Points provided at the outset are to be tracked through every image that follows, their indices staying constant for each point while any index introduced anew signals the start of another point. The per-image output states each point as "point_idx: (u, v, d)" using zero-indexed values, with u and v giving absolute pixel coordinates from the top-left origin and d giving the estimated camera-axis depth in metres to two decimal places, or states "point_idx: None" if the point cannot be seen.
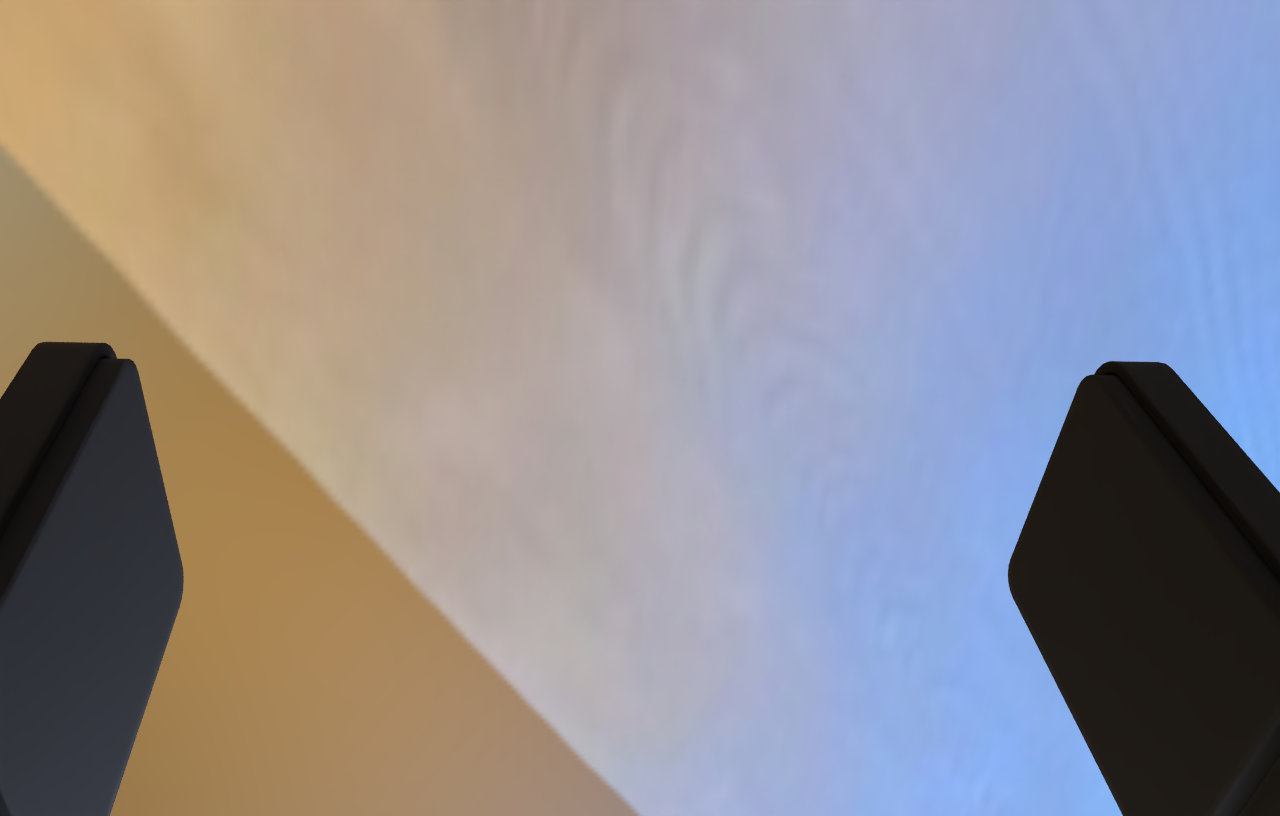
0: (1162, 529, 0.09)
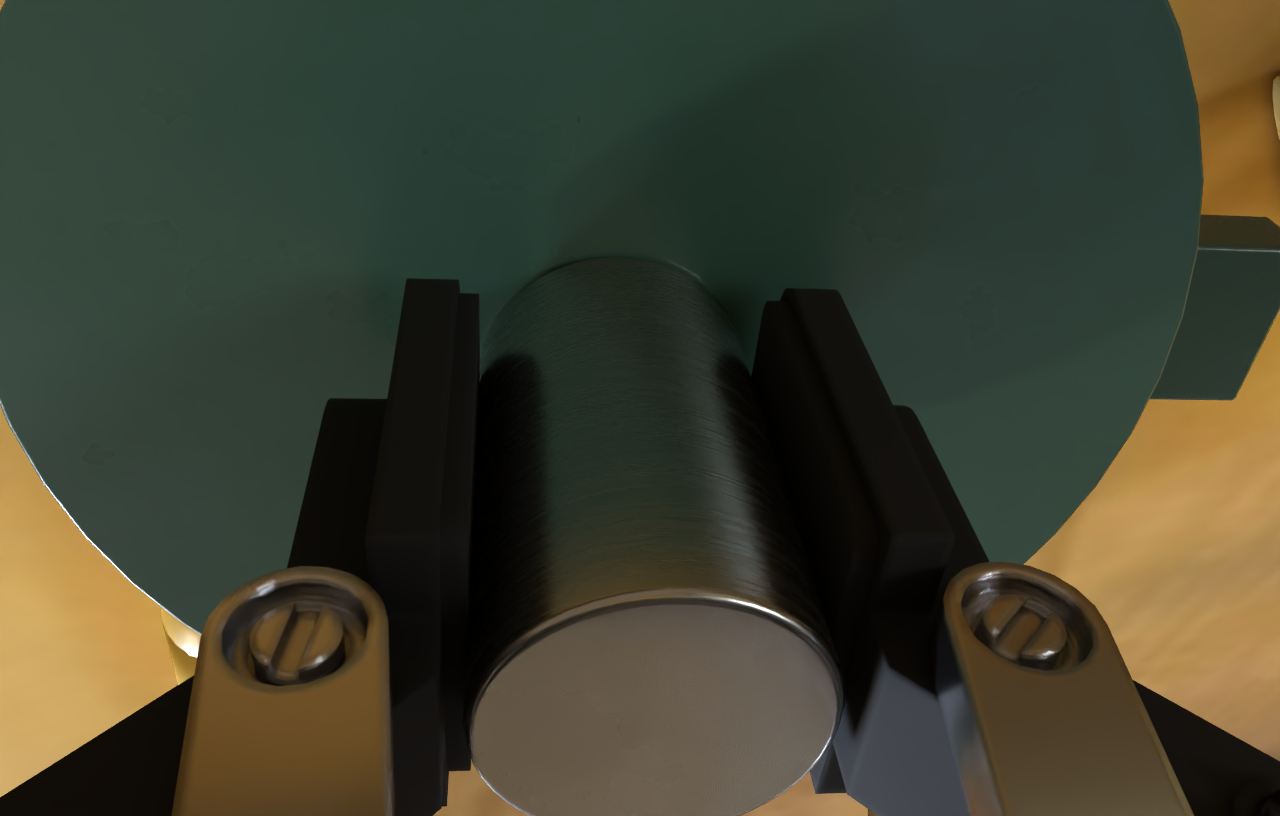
0: (796, 436, 0.10)
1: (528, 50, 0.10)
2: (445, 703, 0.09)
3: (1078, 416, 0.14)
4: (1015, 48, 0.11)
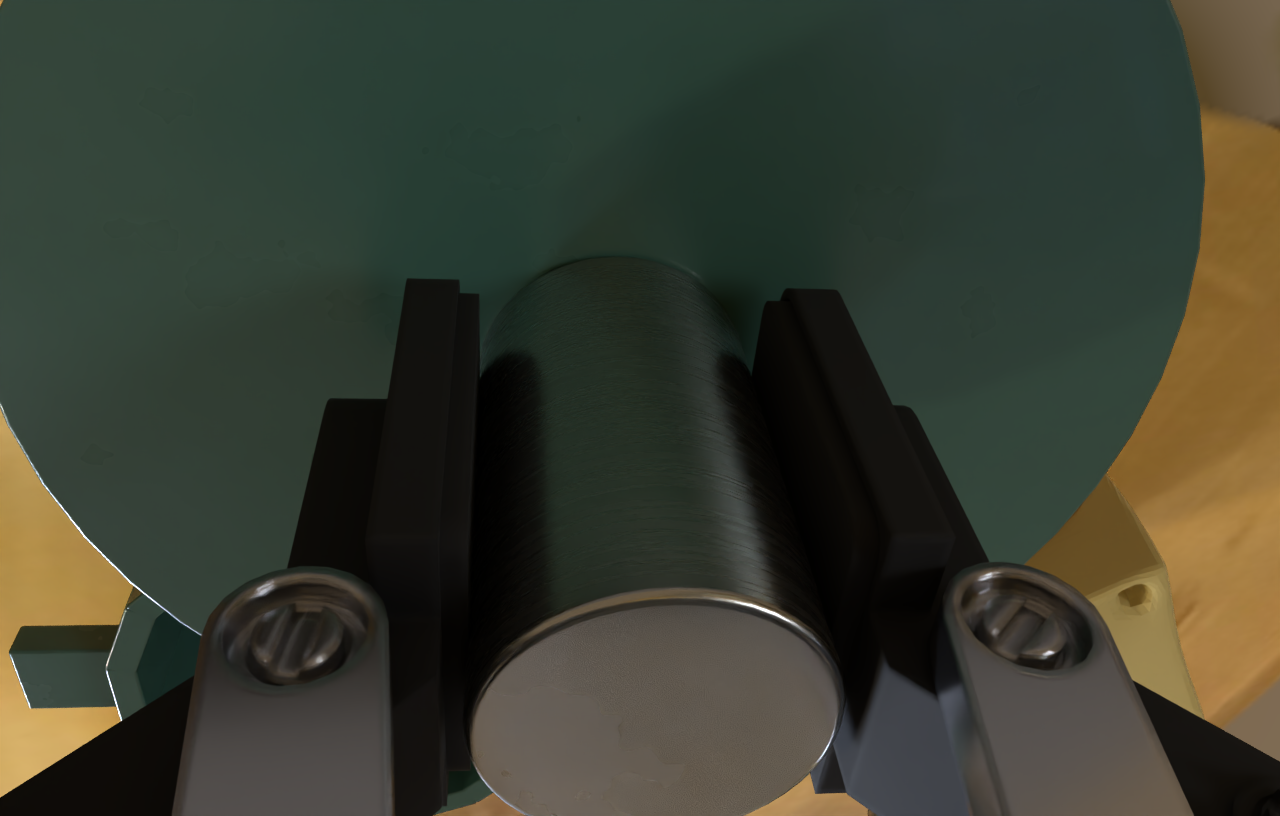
0: (796, 436, 0.10)
1: (528, 49, 0.10)
2: (445, 703, 0.09)
3: (1079, 416, 0.13)
4: (1016, 47, 0.11)
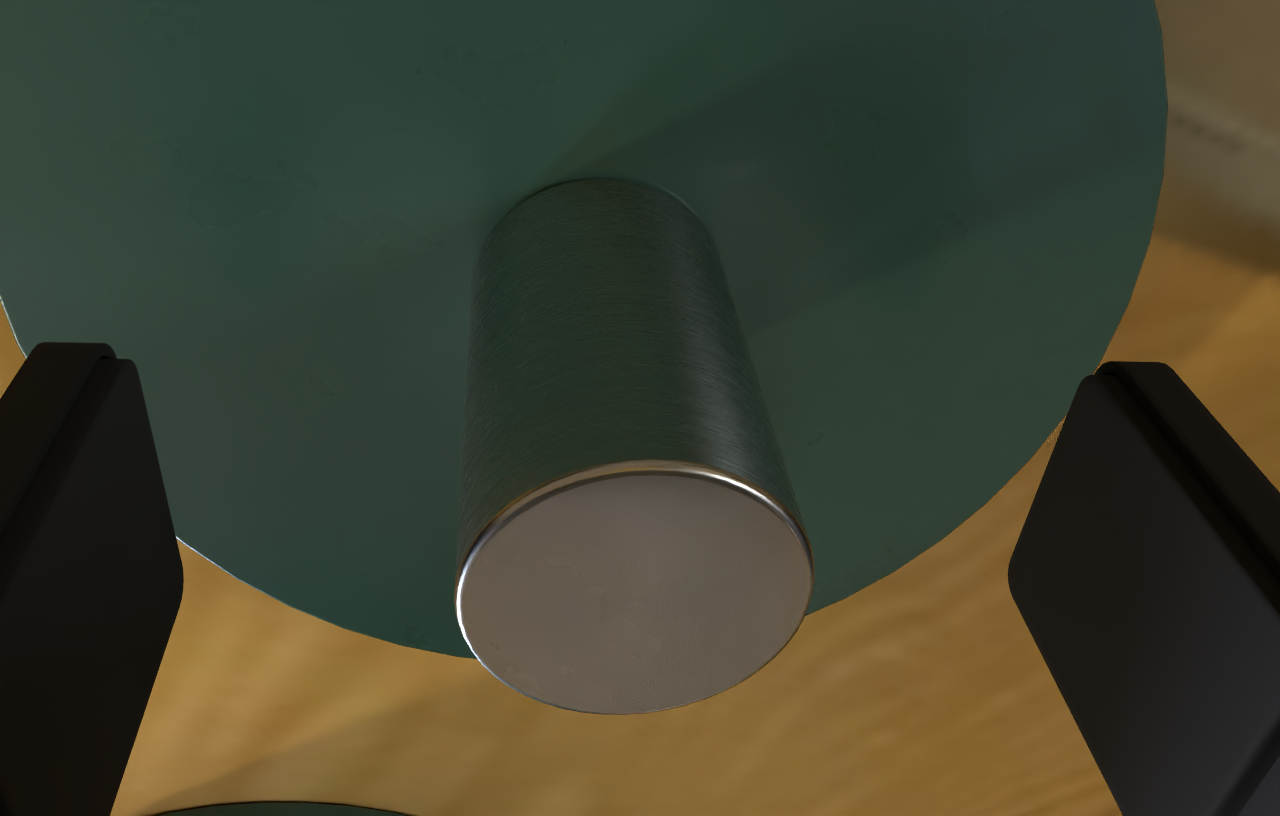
0: (1162, 529, 0.09)
1: None
2: None
3: (1049, 342, 0.14)
4: None
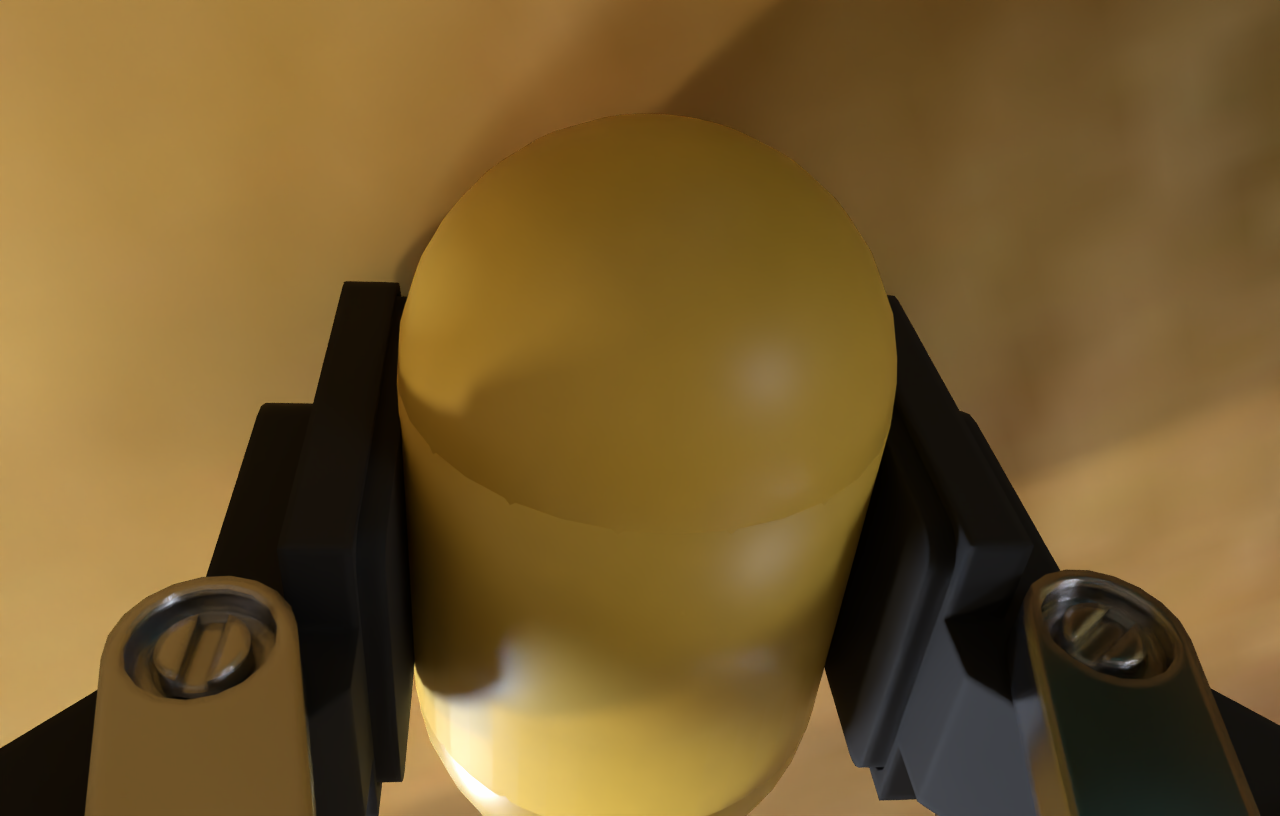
0: None
1: None
2: (371, 714, 0.09)
3: None
4: None
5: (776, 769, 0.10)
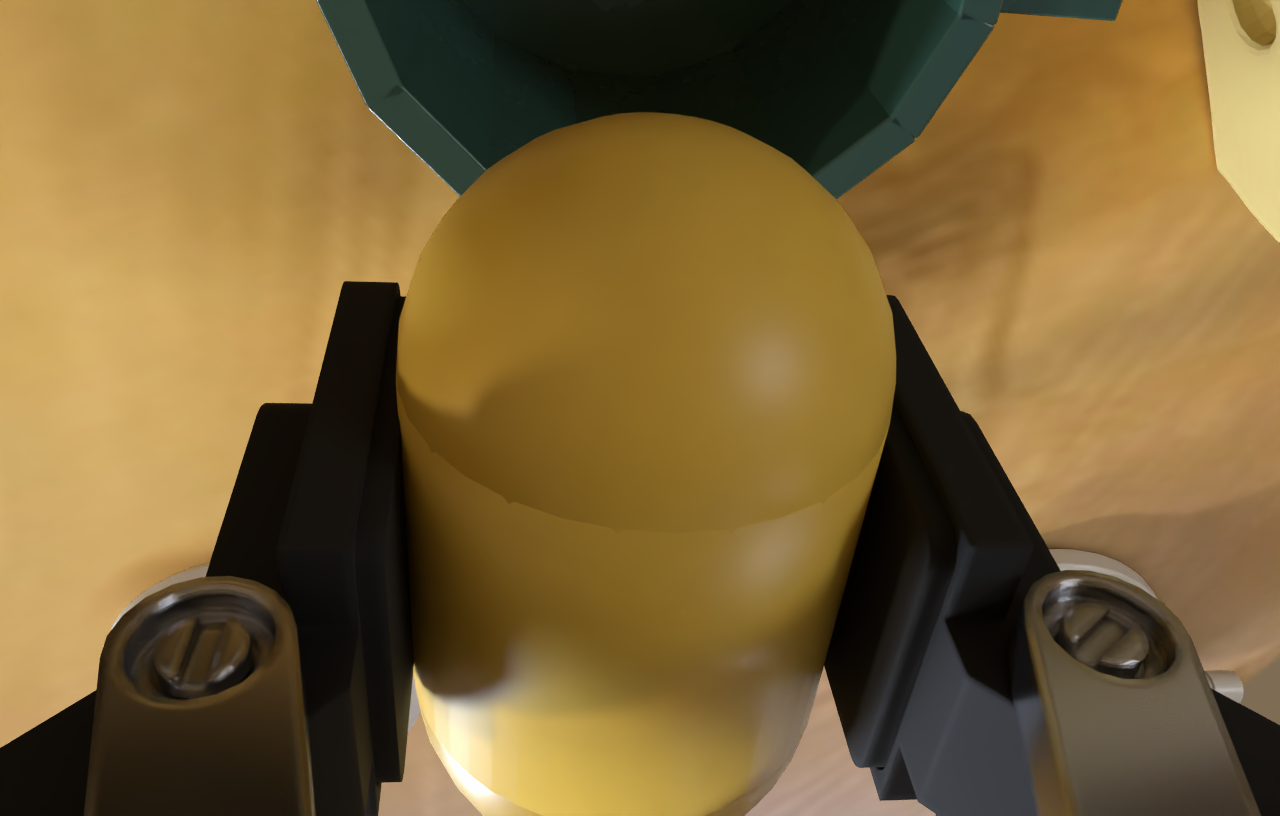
0: None
1: None
2: (371, 714, 0.09)
3: None
4: None
5: (775, 769, 0.10)
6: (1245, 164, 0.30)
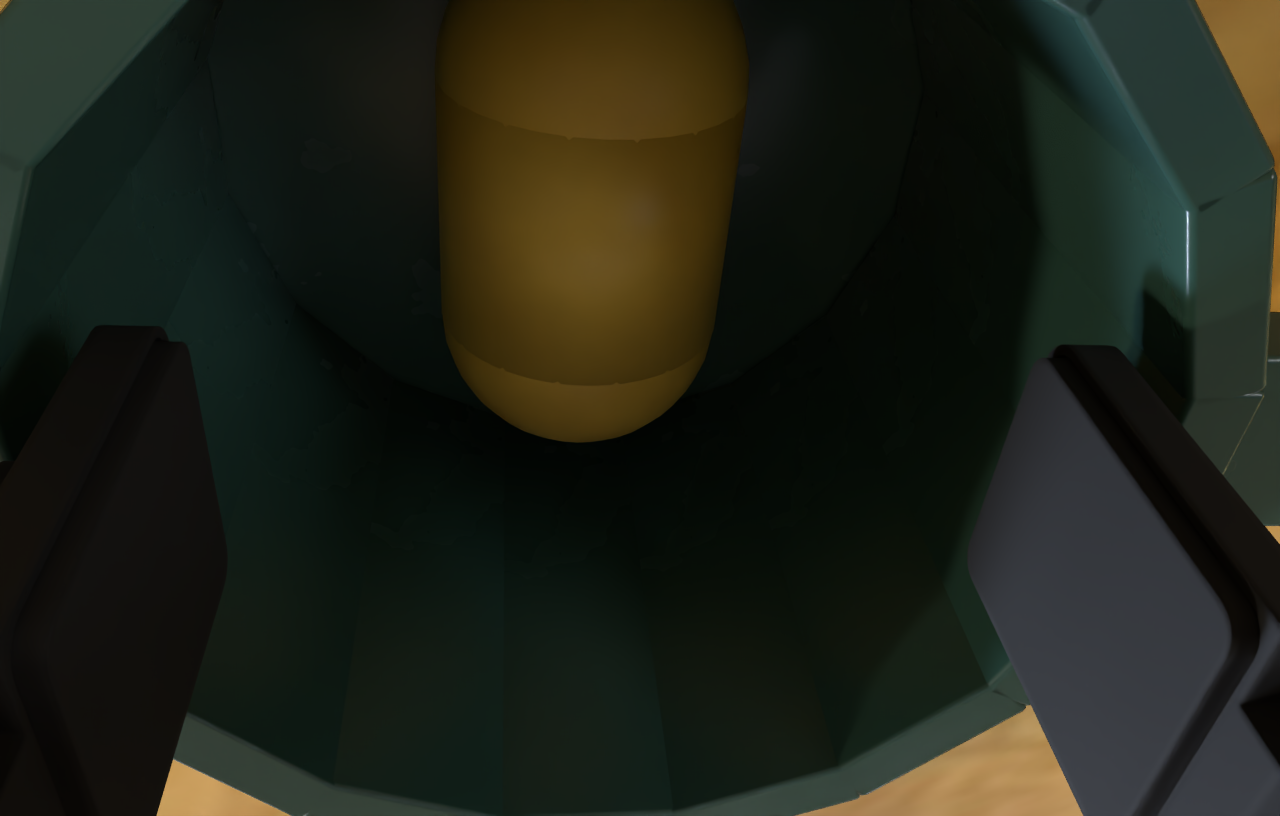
0: (1106, 507, 0.10)
1: None
2: None
3: None
4: None
5: (682, 361, 0.16)
6: None
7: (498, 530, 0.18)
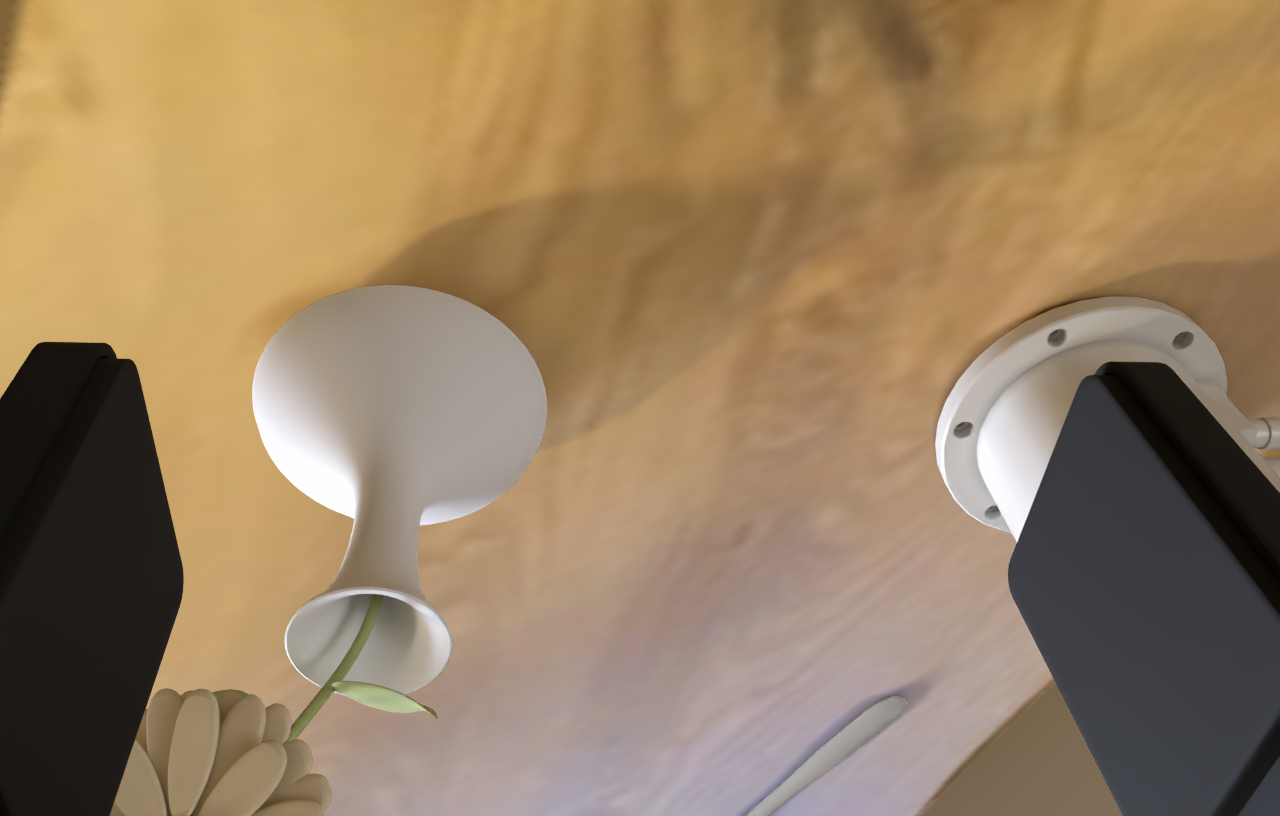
0: (1162, 529, 0.09)
1: None
2: None
3: None
4: None
5: None
6: None
7: None
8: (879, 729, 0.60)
